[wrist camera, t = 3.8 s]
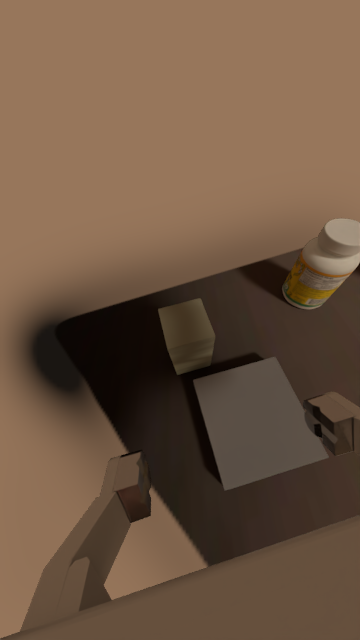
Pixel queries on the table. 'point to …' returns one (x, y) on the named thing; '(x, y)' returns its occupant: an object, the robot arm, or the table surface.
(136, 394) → the table surface
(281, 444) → the gray rectangular slab
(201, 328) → the sage block
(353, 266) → the supplement bottle
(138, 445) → the table surface
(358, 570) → the robot arm
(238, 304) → the table surface
